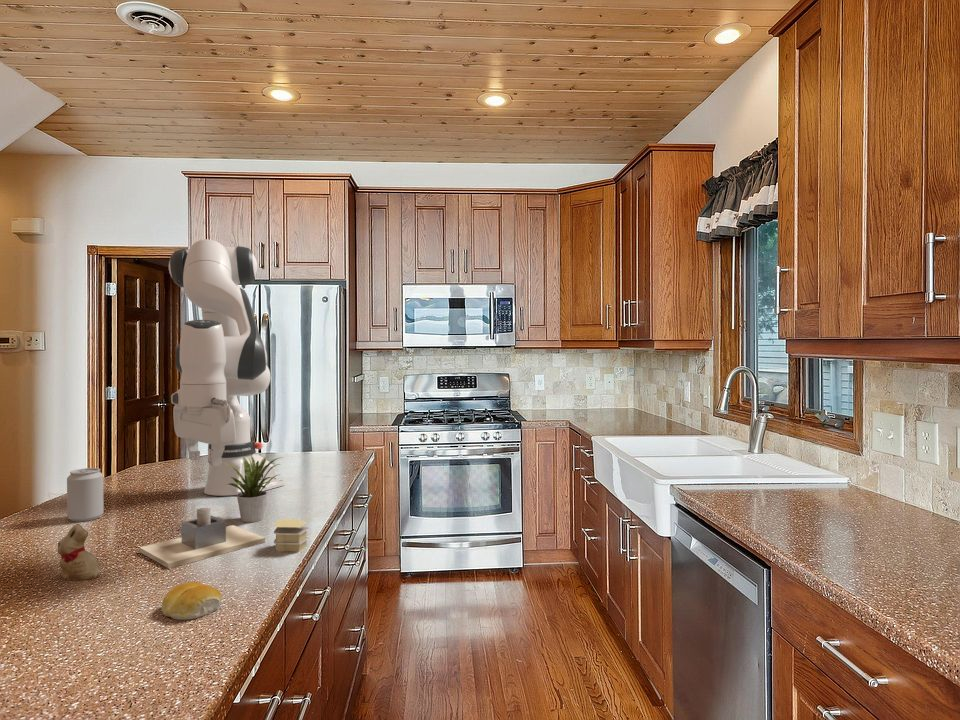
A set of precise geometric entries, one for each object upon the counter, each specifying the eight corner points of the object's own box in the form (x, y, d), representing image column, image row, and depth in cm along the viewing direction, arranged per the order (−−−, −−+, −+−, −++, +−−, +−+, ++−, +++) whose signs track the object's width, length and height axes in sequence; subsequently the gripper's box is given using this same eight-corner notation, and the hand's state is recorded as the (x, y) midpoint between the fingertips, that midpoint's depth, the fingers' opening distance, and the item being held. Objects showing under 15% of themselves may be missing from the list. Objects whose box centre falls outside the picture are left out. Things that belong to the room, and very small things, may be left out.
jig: (232, 529, 137) (232, 495, 137) (265, 542, 128) (264, 505, 128) (139, 552, 122) (139, 513, 121) (168, 568, 113) (168, 527, 112)
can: (85, 523, 141) (85, 473, 141) (59, 521, 142) (58, 472, 142) (111, 514, 148) (110, 467, 148) (85, 513, 150) (85, 466, 150)
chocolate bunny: (89, 566, 114) (89, 514, 114) (104, 576, 109) (104, 522, 109) (55, 574, 110) (54, 521, 109) (69, 585, 105) (68, 529, 104)
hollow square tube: (211, 535, 129) (211, 515, 129) (225, 541, 125) (225, 521, 125) (181, 542, 124) (181, 522, 124) (195, 549, 120) (195, 528, 120)
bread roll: (198, 594, 102) (197, 571, 101) (230, 606, 97) (230, 582, 97) (149, 612, 95) (149, 587, 94) (181, 627, 90) (181, 601, 90)
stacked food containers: (321, 543, 128) (321, 518, 128) (302, 558, 120) (302, 531, 119) (278, 540, 130) (278, 516, 130) (256, 554, 121) (256, 528, 121)
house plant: (300, 515, 148) (300, 450, 148) (258, 531, 136) (258, 460, 135) (257, 508, 154) (257, 446, 154) (213, 523, 142) (213, 455, 141)
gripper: (243, 398, 120) (244, 466, 120) (196, 393, 133) (197, 454, 133) (212, 401, 115) (213, 471, 116) (167, 395, 128) (168, 458, 129)
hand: (204, 462), depth 125 cm, fingers open, 8 cm apart
